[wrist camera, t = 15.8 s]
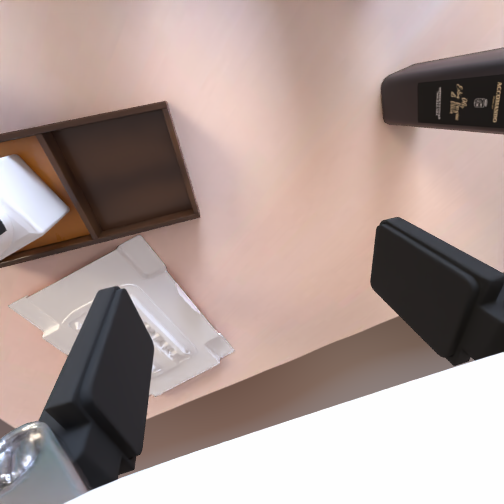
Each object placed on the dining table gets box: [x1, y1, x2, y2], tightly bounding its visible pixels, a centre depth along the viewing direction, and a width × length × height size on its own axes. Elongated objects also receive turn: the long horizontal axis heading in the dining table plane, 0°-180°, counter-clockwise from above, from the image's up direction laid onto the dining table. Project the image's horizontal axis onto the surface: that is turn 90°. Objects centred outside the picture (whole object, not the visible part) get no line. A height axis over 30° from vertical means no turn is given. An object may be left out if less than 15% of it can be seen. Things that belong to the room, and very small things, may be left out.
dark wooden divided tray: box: [0, 101, 200, 268], centre depth 29 cm, size 13×25×3 cm, turn 100°
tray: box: [8, 235, 235, 397], centre depth 41 cm, size 20×28×4 cm
